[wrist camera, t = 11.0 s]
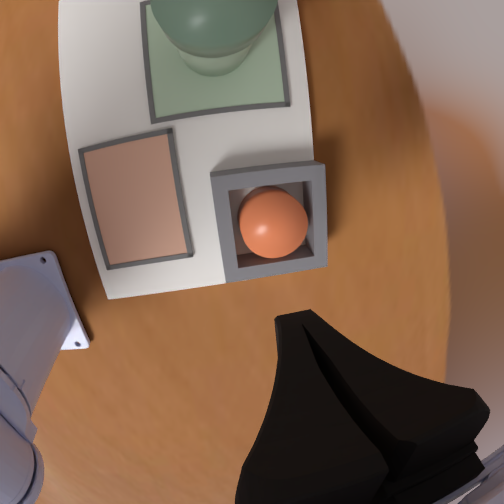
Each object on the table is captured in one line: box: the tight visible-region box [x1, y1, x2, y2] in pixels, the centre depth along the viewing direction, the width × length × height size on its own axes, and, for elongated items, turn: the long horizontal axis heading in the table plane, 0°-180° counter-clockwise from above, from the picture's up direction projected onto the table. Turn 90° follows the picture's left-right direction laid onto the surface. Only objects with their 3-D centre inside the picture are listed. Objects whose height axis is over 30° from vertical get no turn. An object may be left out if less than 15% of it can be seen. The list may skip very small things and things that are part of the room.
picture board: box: [58, 0, 327, 300], centre depth 15 cm, size 14×20×2 cm
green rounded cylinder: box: [150, 0, 278, 77], centre depth 10 cm, size 4×4×8 cm
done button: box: [237, 186, 308, 258], centre depth 17 cm, size 4×4×2 cm
